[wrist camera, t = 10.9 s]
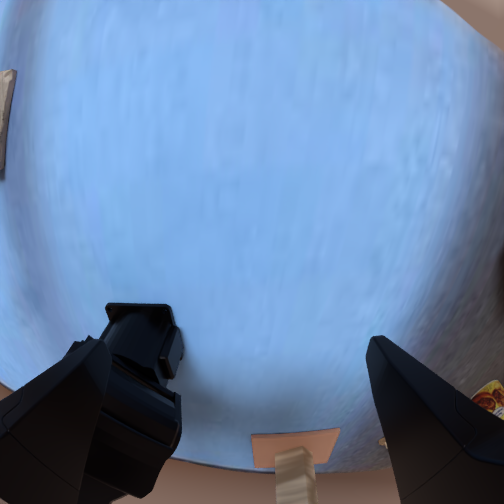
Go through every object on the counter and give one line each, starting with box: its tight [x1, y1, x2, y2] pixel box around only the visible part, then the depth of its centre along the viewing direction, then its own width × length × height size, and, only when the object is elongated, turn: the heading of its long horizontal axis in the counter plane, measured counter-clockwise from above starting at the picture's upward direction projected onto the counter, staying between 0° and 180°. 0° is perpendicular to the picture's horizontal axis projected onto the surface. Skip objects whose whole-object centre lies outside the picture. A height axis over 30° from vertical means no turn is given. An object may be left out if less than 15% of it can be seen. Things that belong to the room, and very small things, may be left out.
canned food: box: [471, 380, 504, 420], centre depth 27 cm, size 8×8×12 cm
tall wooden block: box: [275, 446, 318, 504], centre depth 29 cm, size 4×4×11 cm
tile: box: [251, 428, 340, 468], centre depth 34 cm, size 12×12×1 cm
